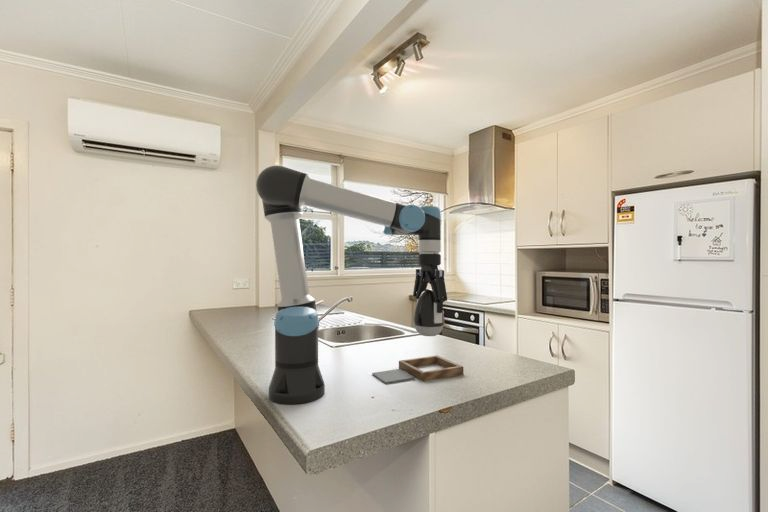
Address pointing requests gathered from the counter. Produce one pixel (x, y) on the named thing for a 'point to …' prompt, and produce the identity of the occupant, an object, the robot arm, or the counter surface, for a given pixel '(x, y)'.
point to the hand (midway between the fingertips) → (429, 320)
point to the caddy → (447, 371)
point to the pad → (393, 376)
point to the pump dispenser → (426, 315)
